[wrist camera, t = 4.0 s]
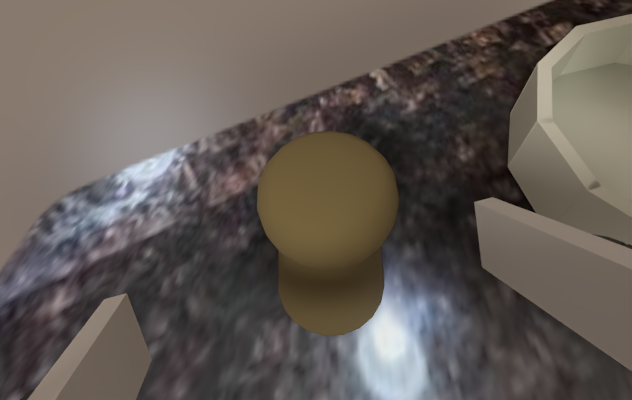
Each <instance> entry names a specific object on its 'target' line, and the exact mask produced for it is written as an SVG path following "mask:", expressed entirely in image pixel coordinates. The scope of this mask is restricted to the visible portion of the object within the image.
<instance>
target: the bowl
mask: <svg viewBox="0 0 632 400" xmlns="http://www.w3.org/2000/svg"><path fill="white" fill-rule="evenodd" d="M507 167H508V169H509V170H510V172H511V173H512V175H513V177H514V178H515V180H516V182H517V183H518V185H519V186H520V188H521V190H522V191H523V193H524V194H525V196H526V198H527V199H528V201H529V203H530V204H531V206H532V207H533V209H534V211H535V212H536V214H539V215H542V216H544V217H547V218H550V219H552V220H555V221H558V222H560V223H563V224H566V225H568V226H571V227H574V228H576V229H579V230H582V231H584V232H587V233H590V234H595V235H601V236H606V237H610V238H613V239H616V240H619V241H621V242H624V243H625V244H626V245H627V244H630V245H632V14H629V15H625V16H620V17H616V18H611V19H607V20H602V21H597V22H593V23H588V24H584V25H579V26H576V27H575V28H574V29H573V30H572V31H571V32H570V33H569V34H568V35H566V36H565V37H564V38H563V39H562V40H561V41H560V42H559V43H558V44H557V45H556V46H555V47H554V48H553V49H552V50H551V51H550V52H549V53H548V54H547V55H546V56H545V57H544V58H543V59H541V60H540V61H539V62H538V63H537V65H536V67H535V69H534V70H533V72H532V74H531V76H530V78H529V80H528V81H527V83H526V85H525V87H524V89H523V91H522V93H521V94H520V96H519V98H518V100H517V102H516V104H515V105H514V107H513V109H512V111H511V113H510V128H509V148H508V166H507Z"/></svg>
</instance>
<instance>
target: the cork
mask: <svg viewBox="0 0 632 400" xmlns="http://www.w3.org/2000/svg"><path fill="white" fill-rule="evenodd" d="M398 205H399V195H398V190H397V184H396V179H395V174H394V172H393V171H392V169H391V167H390V166H389V164H388V162H387V160H386V159H385V157H384V156H382V155H381V154H380V153H379V152H378V151H377V150H376V149H374V148H373V147H372V146H371V145H370V144H369V143H368V142H366V141H364V140H362V139H360V138H358V137H356V136H353V135H351V134H347V133H342V132H336V131H322V132H313V133H309V134H306V135H303V136H300V137H297V138H295V139H294V140H292V141H291V142H289V143H288V144H286V145H285V146H283V147H281V149H280V150H279V151H278V152H277V153H276V154H275V155H274V156H273V158H272V159H271V160H270V161H269V162H268V163H267V165H266V166H265V168H264V171H263V173H262V176H261V178H260V181H259V184H258V194H257V211H258V214H259V217H260V220H261V222H262V225H263V228H264V231H265V233H266V236H267V237H268V238H269V239H270V241H271V242H272V243H273V244H274V245H275V247H276V248H277V249H278V250H279V255H278V293H279V296H280V299H281V302H282V305H283V308H284V309H285V310H286V312H287V313H288V314H289V316H290V317H291V318H292V320H293V321H294V322H295V323H297V324H298V325H300V326H301V327H303V328H304V329H306V330H308V331H310V332H313V333H317V334H321V335H325V336H330V335H344V334H346V333H349V332H351V331H353V330H356V329H358V328H360V327H361V326H362V325H364V324H365V323H366V322H367V321H368V320H369V319H371V318H372V317H373V315H374V313H375V312H376V310H377V308H378V306H379V305H380V303H381V299H382V294H383V289H384V279H383V267H382V255H381V246H382V245H383V243H384V242H385V240H386V239H387V237H388V235H389V234H390V232H391V230H392V229H393V227H394V224H395V221H396V216H397V211H398Z"/></svg>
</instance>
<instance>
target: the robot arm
mask: <svg viewBox="0 0 632 400" xmlns="http://www.w3.org/2000/svg"><path fill="white" fill-rule="evenodd" d="M474 205H475V213H476V222H477V230H478V238H479V247H480V255H481V263H482V268H484V269H485V270H487V271H488V272H490V273H491V274H492V275H494V276H495V277H497V278H498V279H500V280H501V281H503V282H504V283H505V284H507V285H508V286H510V287H511V288H513V289H514V290H516V291H517V292H518V293H520V294H521V295H523V296H524V297H526V298H527V299H528V300H530V301H531V302H533V303H534V304H536V305H537V306H539V307H540V308H541V309H543V310H544V311H546V312H547V313H549V314H550V315H552V316H553V317H554V318H556V319H557V320H559V321H560V322H562V323H563V324H564V325H566V326H567V327H569V328H570V329H572V330H573V331H575V332H576V333H577V334H579V335H580V336H582V337H583V338H585V339H586V340H588V341H589V342H590V343H592V344H593V345H595V346H596V347H598V348H599V349H600V350H602V351H603V352H605V353H606V354H608V355H609V356H611V357H612V358H613V359H615V360H616V361H618V362H619V363H621V364H622V365H624V366H625V367H626V368H628V369H629V370H631V371H632V245H630V244H627V245H626V244H625V243H624V242H621V241H619V240H616V239H613V238H610V237H606V236H601V235H595V234H590V233H587V232H584V231H582V230H579V229H576V228H574V227H571V226H568V225H566V224H563V223H560V222H558V221H555V220H552V219H550V218H547V217H544V216H542V215H539V214H536V213H534V212H531V211H528V210H525V209H523V208H520V207H517V206H515V205H512V204H509V203H507V202H504V201H501V200H499V199H496V198H493V197H492V198H488V199H484V200H480V201H476V202H474ZM150 363H151V357H150V354H149V352H148V349H147V346H146V344H145V341H144V338H143V336H142V333H141V330H140V327H139V325H138V322H137V319H136V317H135V314H134V311H133V309H132V306H131V303H130V301H129V298H128V295H127V293H126V294H122V295H119V296H115V297H111V298H107V299H104V301H103V302H102V303H101V304H100V306H99V307H98V308H97V310H96V311H95V312H94V314H93V315H92V316H91V317H90V319H89V320H88V321H87V323H86V324H85V325H84V327H83V328H82V329H81V330H80V332H79V333H78V334H77V336H76V337H75V338H74V340H73V341H72V342H71V344H70V345H69V346H68V347H67V349H66V350H65V351H64V353H63V354H62V355H61V357H60V358H59V359H58V360H57V362H56V363H55V364H54V366H53V367H52V368H51V370H50V371H49V372H48V373H47V375H46V376H45V377H44V379H43V380H42V381H41V383H40V384H39V385H38V386H37V388H36V389H35V390H32V391H30V392H29V393H27V394H26V395H25V396H24V397H23V398H22V399H20V400H136V398H137V395H138V393H139V390H140V388H141V385H142V383H143V380H144V378H145V375H146V373H147V370H148V368H149V365H150Z"/></svg>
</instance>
